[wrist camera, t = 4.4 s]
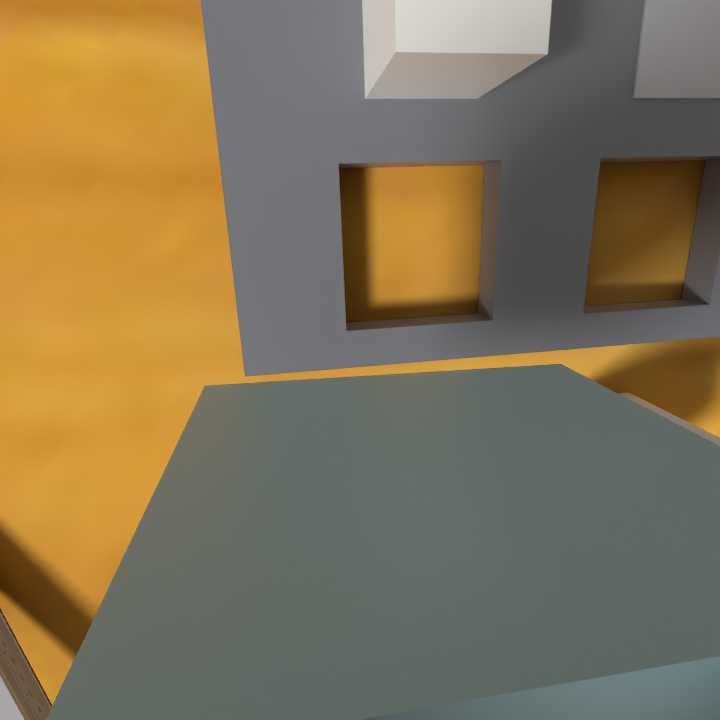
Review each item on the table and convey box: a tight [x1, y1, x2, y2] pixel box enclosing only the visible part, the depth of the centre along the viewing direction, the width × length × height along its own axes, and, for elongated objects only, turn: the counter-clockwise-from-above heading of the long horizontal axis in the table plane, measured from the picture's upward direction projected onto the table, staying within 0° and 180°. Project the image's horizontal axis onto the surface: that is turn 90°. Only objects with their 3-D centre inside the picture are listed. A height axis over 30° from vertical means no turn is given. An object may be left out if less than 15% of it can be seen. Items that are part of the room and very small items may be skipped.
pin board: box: [201, 0, 720, 376], centre depth 15 cm, size 24×16×6 cm, turn 92°
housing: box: [46, 364, 720, 720], centre depth 6 cm, size 7×7×6 cm
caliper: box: [0, 609, 52, 720], centre depth 19 cm, size 20×1×6 cm, turn 19°
